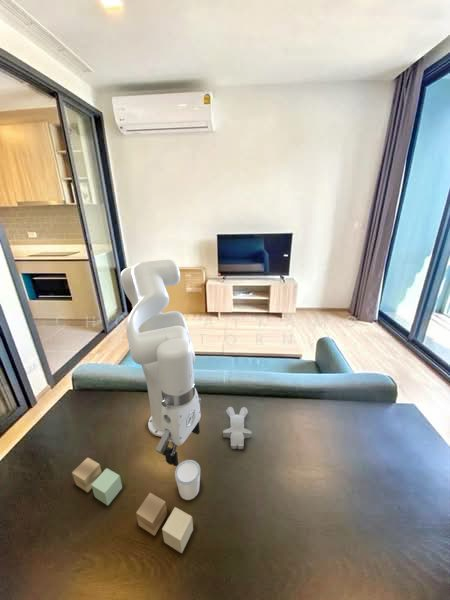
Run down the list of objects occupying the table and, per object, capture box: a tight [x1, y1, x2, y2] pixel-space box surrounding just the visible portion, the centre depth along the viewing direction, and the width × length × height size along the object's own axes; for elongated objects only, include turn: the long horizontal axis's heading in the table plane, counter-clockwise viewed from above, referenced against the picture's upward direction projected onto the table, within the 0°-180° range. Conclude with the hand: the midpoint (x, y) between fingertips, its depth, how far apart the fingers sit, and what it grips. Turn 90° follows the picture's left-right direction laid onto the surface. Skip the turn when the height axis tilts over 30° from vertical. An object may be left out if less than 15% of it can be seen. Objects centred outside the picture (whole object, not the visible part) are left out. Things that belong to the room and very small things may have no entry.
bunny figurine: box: [222, 406, 252, 450], centre depth 86 cm, size 10×5×15 cm
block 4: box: [161, 506, 194, 554], centre depth 59 cm, size 5×5×5 cm
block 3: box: [135, 492, 168, 536], centre depth 62 cm, size 5×5×5 cm
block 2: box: [91, 467, 123, 506], centre depth 68 cm, size 5×5×5 cm
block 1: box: [71, 457, 103, 493], centre depth 71 cm, size 5×5×5 cm
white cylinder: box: [174, 459, 201, 501], centre depth 68 cm, size 7×7×7 cm
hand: (183, 446), depth 63 cm, fingers open, 9 cm apart
